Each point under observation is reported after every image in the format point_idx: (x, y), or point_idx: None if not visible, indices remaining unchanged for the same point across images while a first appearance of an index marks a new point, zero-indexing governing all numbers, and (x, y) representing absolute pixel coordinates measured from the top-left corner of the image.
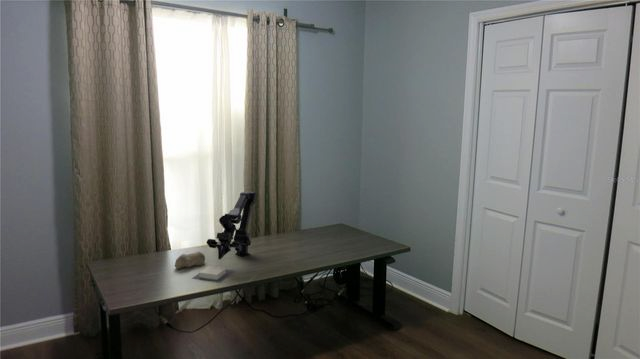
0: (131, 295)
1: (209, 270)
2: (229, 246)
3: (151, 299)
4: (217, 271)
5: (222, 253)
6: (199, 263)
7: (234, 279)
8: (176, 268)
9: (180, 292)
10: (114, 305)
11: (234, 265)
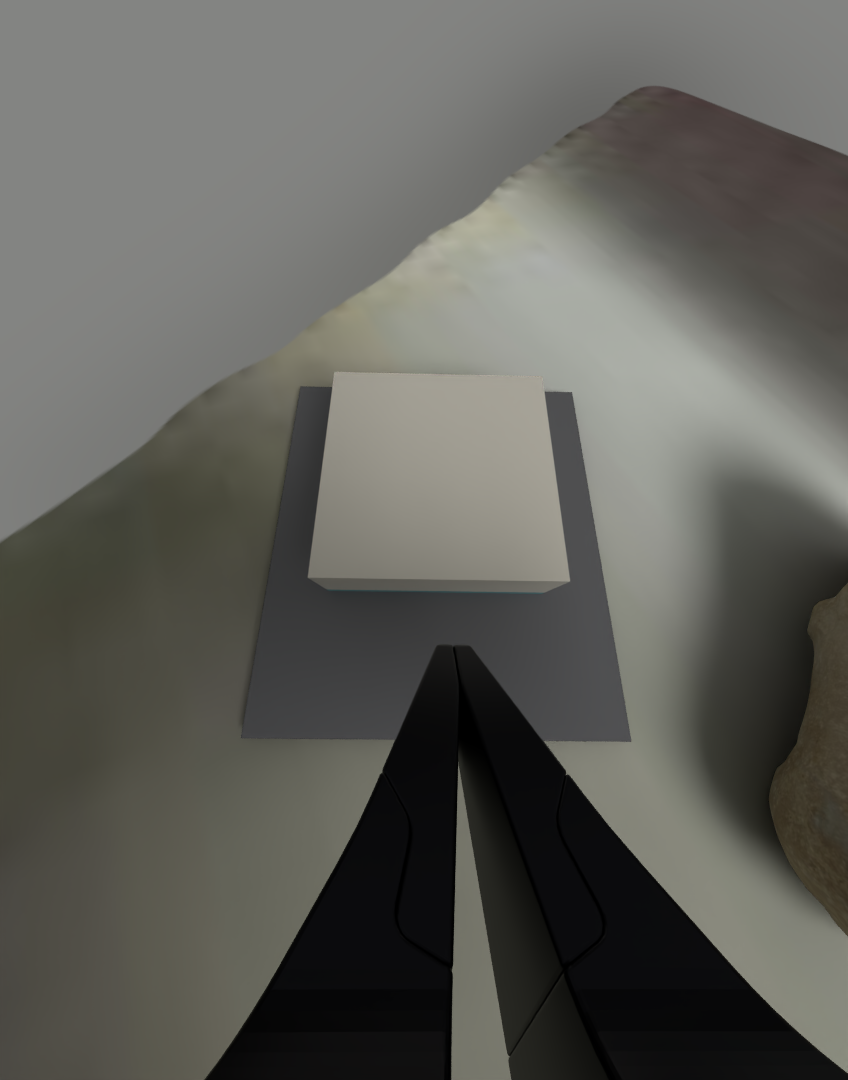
0: (704, 161)
1: (469, 447)
2: None
3: (579, 152)
4: (368, 448)
5: (394, 748)
6: (796, 753)
7: (208, 503)
8: None
9: (497, 230)
10: (675, 97)
11: None
